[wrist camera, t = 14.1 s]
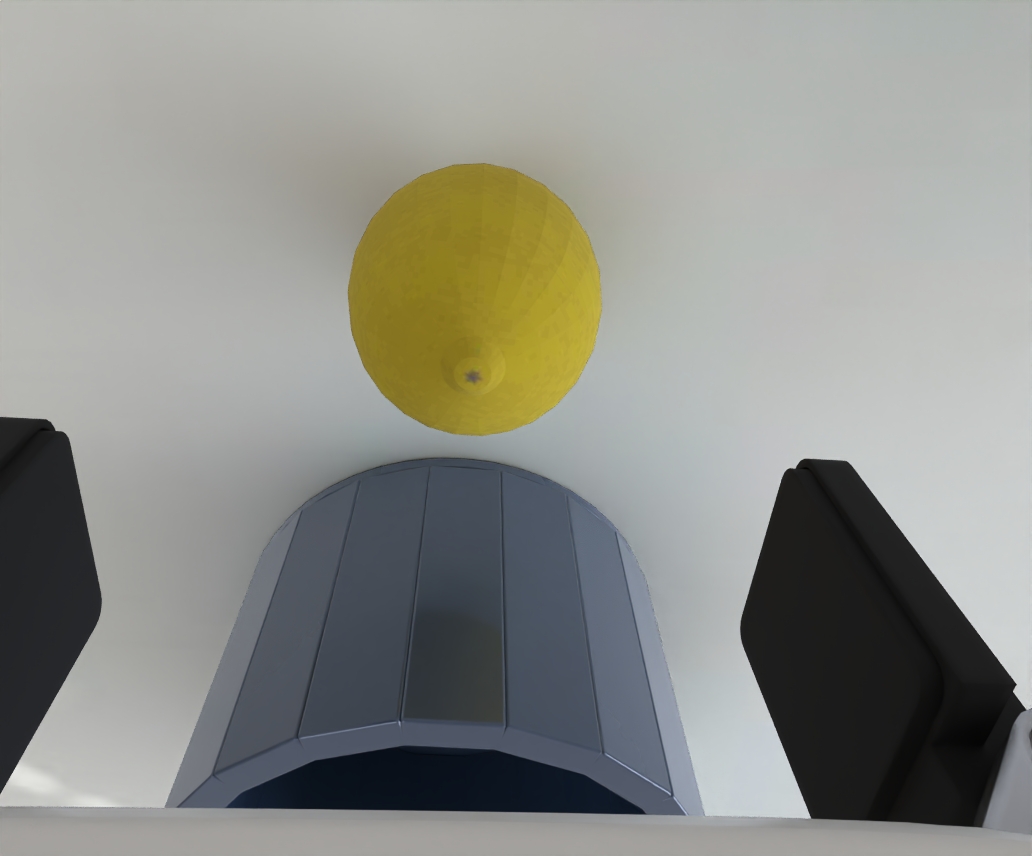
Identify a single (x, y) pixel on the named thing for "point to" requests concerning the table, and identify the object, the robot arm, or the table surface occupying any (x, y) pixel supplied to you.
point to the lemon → (474, 299)
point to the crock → (443, 658)
